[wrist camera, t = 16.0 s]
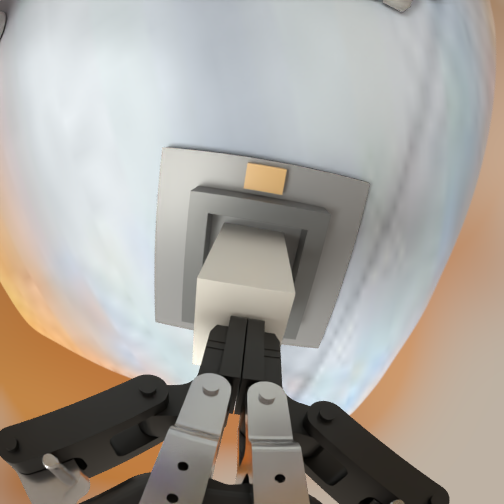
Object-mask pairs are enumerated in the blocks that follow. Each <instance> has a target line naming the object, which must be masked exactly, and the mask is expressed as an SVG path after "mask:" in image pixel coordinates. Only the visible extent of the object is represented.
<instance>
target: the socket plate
mask: <svg viewBox="0 0 504 504" xmlns="http://www.w3.org/2000/svg"><path fill="white" fill-rule="evenodd" d="M369 187H370V183H367V182H365V181H361V180H357V179H353V178H350V177H346V176H342V175H337V174H333V173H329V172H325V171H320V170H316V169H311V168H307V167H302V166H297V165H292V164H287V163H281V162H276V161H270V160H265V159H259V158H253V157H246V156H240V155H233V154H226V153H218V152H210V151H201V150H192V149H182V148H171V147H162V155H161V164H160V174H159V185H158V197H157V212H156V232H155V322H158V323H162V324H167V325H171V326H176V327H180V328H185V329H190V330H194V319H195V302H196V287H197V277H198V275H199V273H200V271H201V269H202V267H203V265H204V263H205V260H206V258H207V256H208V254H209V252H210V250H211V248H212V246H213V244H214V242H215V240H216V238H217V236H218V234H219V232H220V230H221V228H222V226H223V224H224V223H229V224H235V225H242V226H248V227H254V228H260V229H266V230H272V231H278V232H283V233H284V238H285V243H286V248H287V253H288V258H289V263H290V268H291V273H292V278H293V283H294V288H295V297H294V301H293V305H292V308H291V312H290V315H289V319H288V322H287V326H286V329H285V333H284V336H283V340H282V343H281V344H283V345H291V346H300V347H310V348H319V345H320V343H321V340H322V338H323V335H324V333H325V330H326V327H327V325H328V322H329V319H330V317H331V314H332V311H333V309H334V306H335V303H336V300H337V297H338V294H339V291H340V288H341V286H342V283H343V280H344V276H345V273H346V270H347V267H348V264H349V261H350V257H351V254H352V251H353V247H354V244H355V241H356V237H357V234H358V230H359V226H360V223H361V219H362V215H363V211H364V207H365V203H366V199H367V195H368V191H369Z"/></svg>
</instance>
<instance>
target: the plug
mask: <svg viewBox="0 0 504 504" xmlns="http://www.w3.org/2000/svg"><path fill="white" fill-rule="evenodd" d="M294 297H295V288H294V283H293V278H292V273H291V268H290V263H289V258H288V253H287V248H286V243H285V238H284V233H283V232H278V231H272V230H266V229H260V228H254V227H248V226H242V225H235V224H229V223H224V224H223V226H222V228H221V230H220V232H219V234H218V236H217V238H216V240H215V242H214V244H213V246H212V248H211V250H210V252H209V254H208V256H207V258H206V260H205V263H204V265H203V267H202V269H201V271H200V273H199V275H198V277H197V287H196V302H195V319H194V339H193V364H196V365H201V362H202V359H203V355H204V351H205V348H206V344H207V341H208V337H209V333H210V331H211V330H212V329H213V328H214V327H215V326H216V325H223V326H228V327H229V322H230V317H231V316H237V317H243V318H247V322H248V318H250V319H256V320H263V321H265V332H267V333H274V334H275V335H276V336H277V338H278V340H279V341H280V346H281V343H282V340H283V336H284V333H285V329H286V326H287V322H288V319H289V315H290V312H291V308H292V305H293V301H294ZM246 327H247V323H246Z"/></svg>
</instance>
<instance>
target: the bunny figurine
mask: <svg viewBox="0 0 504 504" xmlns="http://www.w3.org/2000/svg"><path fill="white" fill-rule="evenodd" d="M412 1H413V0H383V3H385V4H387V5H389V6H391V7H393V8H395V9H396V10H398V11H400V12H403V11H405V10H406V9H408V8H410V5H411V2H412Z"/></svg>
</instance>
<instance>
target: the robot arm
mask: <svg viewBox="0 0 504 504" xmlns="http://www.w3.org/2000/svg"><path fill="white" fill-rule="evenodd" d="M5 21H6V15H5V13H4V12H2V11H0V37H1V35H2V32H3V29H4V26H5ZM246 323H247V327H246ZM235 401H236V404H235ZM234 406H235V414H238V415H240V421H239V426H238V430H237V474H236V484H235V485H227V484H223V483H221V482H218V481H216V480H213V479H212V476H213V472H214V467H215V463H216V459H217V455H218V451H219V447H220V443H221V439H222V435H223V431H224V428H225V426H226V424H227V419H228V415H229V413H231V414H232V413H233V410H234ZM163 441H164V442H163ZM160 442H163V444H162V447H161V450H160V452H159V454H158V457H157V459H156V462H155V464H154V467H153V470H152V472H151V473H144V474H140V475H137V476H134V477H132V478H130V479H128V480H126V481H124V482H122V483H120V484H119V485H117V486H115V487H113V488H111V489H109V490H107V491H105V492H103V493H101V494H99V495H97V496H95V497H93V498H91V499H88V500H86V501H84V502H82V503H79V504H322V503H321V502H320V501H318V500H317V499H316V498H314V497H312V496H311V495H309V494H308V489H307V482H306V476H305V473H306V474H307V475H308V476H309V477H311V478H312V480H314V481H315V482H316V483H317V484H318V485H319V486H320V487H321V488H322V489H323V490H324V491H325V492H327V493H328V494H329V495H330V496H331V497H332V498H333V499H335V500H336V501H337V502H338V503H339V504H449V495H448V493H447V491H446V490H445V489H444V488H443V487H441V486H440V485H438V484H437V483H435V482H434V481H433V480H431V479H430V478H428V477H427V476H426V475H424V474H423V473H421V472H420V471H419V470H417V469H416V468H414V467H413V466H412V465H411V464H409V463H408V462H407V461H405V460H404V459H403V458H401V457H400V456H399V455H397V454H396V453H395V452H393V451H392V450H391V449H390V448H388V447H387V446H386V445H385V444H383V443H382V442H381V441H379V440H378V439H377V438H376V437H375V436H373V435H372V434H371V433H370V432H368V431H367V430H366V429H365V428H363V427H362V426H361V425H360V424H358V423H357V422H356V421H355V420H354V419H353V418H351V417H350V416H349V415H348V414H347V413H346V412H344V411H343V410H342V409H341V408H340V407H339V406H337V405H336V404H334V403H331V402H328V401H319V402H316V403H314V404H312V405H311V406H308V405H305V404H302V403H299V402H296V401H294V400H292V399H291V398H289V397H288V396H287V395H286V393H285V391H284V390H283V388H282V374H281V353H280V341H279V340H278V338H277V336H276V335H275V334H274V333H267V332H265V321H263V320H256V319H250V318H248V322H247V318H243V317H237V316H231V317H230V322H229V327H228V326H223V325H216V326H215V327H214V328H213V329H212V330H211V331H210V333H209V337H208V341H207V344H206V348H205V351H204V355H203V359H202V362H201V366H200V369H199V373H198V375H197V377H196V378H194V380H193V381H191V382H189V383H187V384H183V385H166V383H165V382H164V381H163V380H162V379H161V378H159V377H157V376H154V375H140V376H138V377H135V378H133V379H131V380H129V381H126V382H124V383H122V384H120V385H117V386H115V387H113V388H110V389H108V390H106V391H103V392H101V393H99V394H96V395H94V396H91V397H89V398H87V399H84V400H82V401H79V402H76V403H74V404H71V405H69V406H66V407H64V408H61V409H58V410H56V411H53V412H50V413H48V414H45V415H42V416H39V417H36V418H33V419H31V420H27V421H24V422H21V423H19V424H15V425H12V426H9V427H6V428H4V429H2V430H1V431H0V456H1V457H2V458H3V459H4V460H5V461H6V462H7V463H8V464H10V465H11V466H12V468H13V469H14V470H15V471H16V472H17V473H18V475H19V477H20V480H21V482H22V484H23V486H24V489H25V491H26V493H27V495H28V497H29V499H30V500H31V502H32V504H76V503H77V501H78V500H79V499H80V498H81V497H83V496H84V495H86V494H87V492H88V491H89V488H90V481H89V478H91V477H93V476H95V475H97V474H100V473H102V472H104V471H107V470H109V469H111V468H113V467H115V466H117V465H119V464H121V463H123V462H125V461H127V460H129V459H131V458H133V457H135V456H137V455H139V454H141V453H143V452H144V451H146V450H148V449H150V448H152V447H154V446H155V445H157V444H159V443H160Z"/></svg>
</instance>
